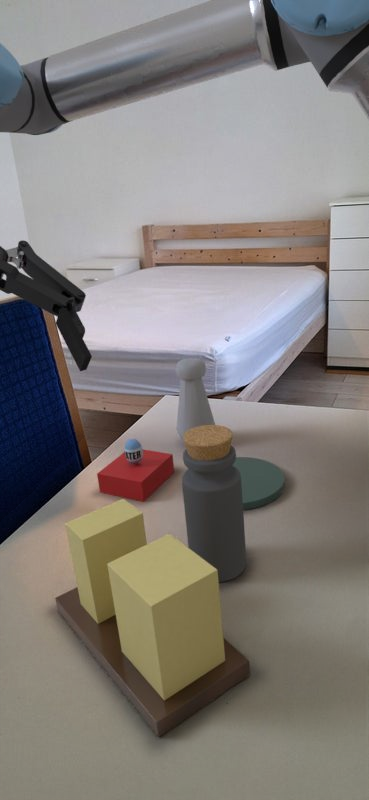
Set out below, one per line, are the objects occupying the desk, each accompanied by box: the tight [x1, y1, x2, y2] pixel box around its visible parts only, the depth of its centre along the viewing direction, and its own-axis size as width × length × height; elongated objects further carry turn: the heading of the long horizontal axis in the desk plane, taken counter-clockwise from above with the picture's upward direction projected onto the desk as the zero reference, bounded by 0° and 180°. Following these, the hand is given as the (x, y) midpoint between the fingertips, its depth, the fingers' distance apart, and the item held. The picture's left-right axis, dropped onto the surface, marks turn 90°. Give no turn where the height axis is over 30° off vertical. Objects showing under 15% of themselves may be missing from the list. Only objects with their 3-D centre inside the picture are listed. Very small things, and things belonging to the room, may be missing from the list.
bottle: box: [181, 424, 247, 583], centre depth 60 cm, size 6×6×15 cm
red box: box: [96, 438, 175, 503], centre depth 79 cm, size 8×7×6 cm
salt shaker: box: [175, 357, 216, 445], centre depth 88 cm, size 6×6×13 cm
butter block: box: [107, 533, 225, 700], centre depth 48 cm, size 6×6×9 cm
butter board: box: [54, 586, 251, 738], centre depth 53 cm, size 9×18×2 cm, turn 36°
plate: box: [233, 456, 286, 511], centre depth 77 cm, size 12×12×1 cm
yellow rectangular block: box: [65, 498, 148, 624], centre depth 55 cm, size 6×4×9 cm, turn 126°
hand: (25, 381), depth 60 cm, fingers open, 13 cm apart
